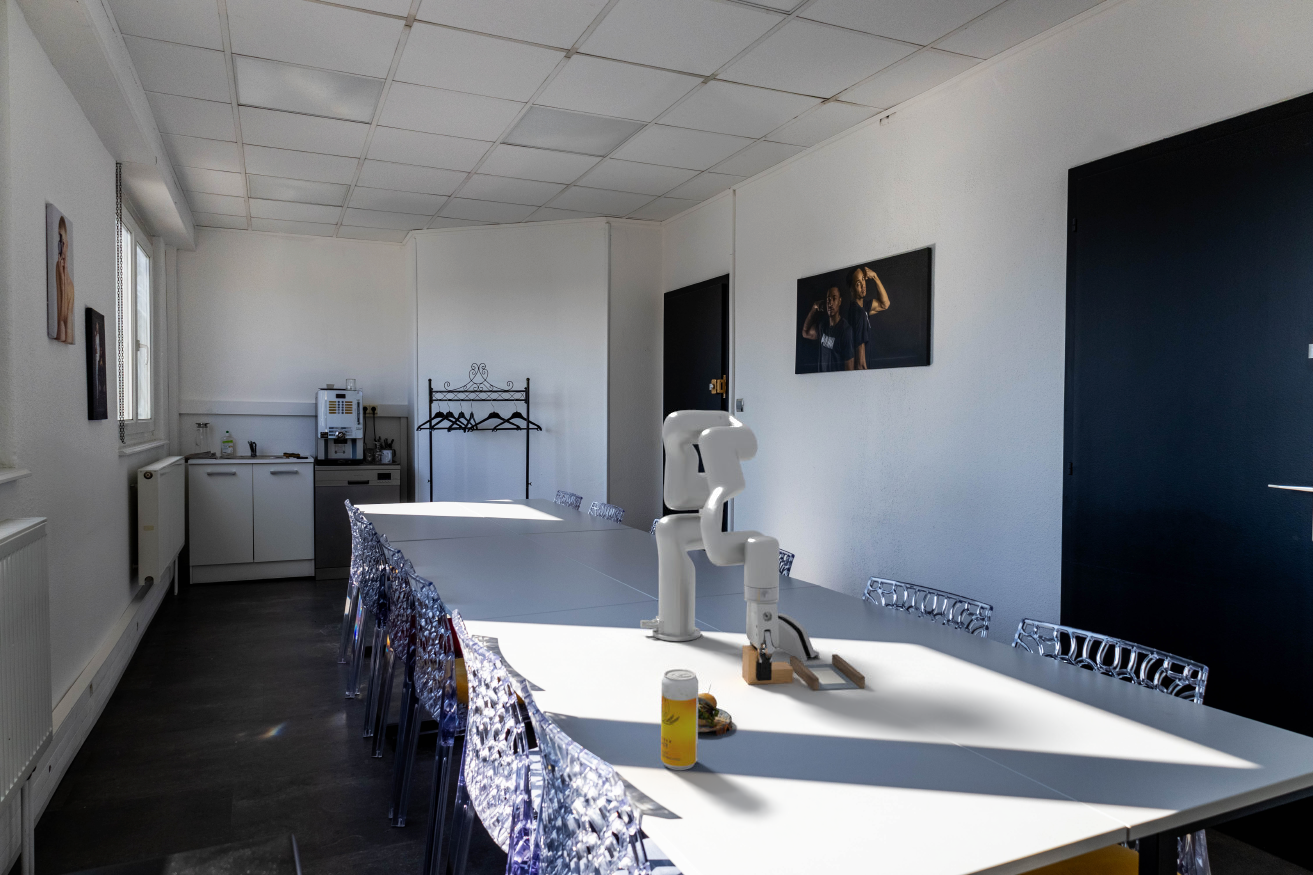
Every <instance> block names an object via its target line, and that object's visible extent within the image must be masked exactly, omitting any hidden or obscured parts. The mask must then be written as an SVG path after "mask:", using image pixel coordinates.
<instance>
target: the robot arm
mask: <svg viewBox="0 0 1313 875" xmlns="http://www.w3.org/2000/svg"><path fill="white" fill-rule="evenodd" d="M662 440H663V446H664V450H665V465H664V484H663V500H664V504H665V506H666V507H667V508H668V509H670V510H674V511H688V510H689V511H691V510H693V511H694V510H698V513H677V514H669V515H665V516H663V517H662V518H660V519H659V520H658V521H657V522H656V525H655V530H654V531H655V533H654V534H655V540H656V547H657V553H658V556H657V557H658V615H655V618H652V620H650V619H649V620H648V619H644V620H643V619H641V620H640V628H641V629H642V628H643V629H644V628H646V630H652V636H653V637H654V638H656V639H658V640H661V641H662V640H663V641H667V642H686V641H692V640H696V639H699V638H700V637H701V633H702V632H701V629H699V627H696V624H695V623H696V567H695V564H694V562H693V560H692V558H691V557H690V556H689V554H688V551H689V552H690V551H697V550H698V551H699V550H705V553H706V556H707V558H708V560H709V561H710V562H711V563H712V564H713V565H715V566H717V567H727V566H728V567H729V566H739V565H742V566H743V565H744V566H743V571H744V572H743V574H744V575H743V580H744V581H743V600H744V601H745V602H746V621H745V622H746V623H745V625H746V626H745V628H746V629H745V632H746V638H747V639H748V641H749V645H752V646H753V647H754V649H755V650H756V651H757V652H758V662H757V680H758V681H768V680H771V679H772V662H773V654H774V650H773V649H776V650H777V649H779V648H778V646H779V632H778V614H779V613H778V605H777V603H778V602H779V598H780V596H779V595H780V594H779V593H780V592H779V590H780V589H779V588H780V586H779V585H780V542H779V540H778V539H777V538H776V537H773V536H769V535H764V534H763V533H762V532H760V531H758V530H737V531H736V530H734V531H732V530H731V531H722V525H723V524H722V523H723V515H724V514H723V513H724V512H723V510H724V503H726V502H727V501H729V500H731V499H733V498H735V497H737V496H738V495H740V494H741V493H743V492H744V490H745V488H746V487H747V486H746V481H745V477H744V473H743V470H742V466H741V462H746V461H747V462H748V461H750V460H751V461H752V460H753V458H755V457H756V455H757V452H758V449H759V447H758V445H759V444H758V441H757V440H758V439H757V436H756V435H755V433H754V432H753V430H752V429H751V428H750V426H748V425H747V424H746V423H745V422H744V421H742V420H740V419H739V418H738V417H736V416H735V415H733V414H732V412H729V411H725V410H700V409H699V410H698V409H697V410H696V409H692V410H691V409H687V410H678V411H674V412H671V413H670V414H668V416H666V418H665V420H664V422H663V426H662ZM694 445H698V449H699V452H700V457H701V460H702V464H703V468H704V469H703V470H704V472H699V460H700V459H699V455H698V452H697V450H696V448H695V447H694Z"/></svg>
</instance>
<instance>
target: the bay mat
mask: <svg viewBox="0 0 1313 875" xmlns="http://www.w3.org/2000/svg"><path fill="white" fill-rule="evenodd" d="M804 665H805V666H806V667H807V668H808V669H809V670H810V671H811V672H812V673H814V674H815V675H816V676H817V677H818V678H819V690H818V691H832V690H855V689H857V690H858V689H859V687H858V686H857V685H856V684H855V683H853V682H852V681H851V680H850V679H849V678H848V677H846V676H845V675H844V674H843V673H842V672H841V671H839V670H838V669H837V668H836V667H835V666H834V665H832V663H817V664H804ZM859 690H860V689H859Z"/></svg>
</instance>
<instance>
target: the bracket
mask: <svg viewBox="0 0 1313 875" xmlns="http://www.w3.org/2000/svg"><path fill="white" fill-rule="evenodd" d="M741 656H742V659H741V660H742V663H741V664H742V665H741V666H742V670H741V672H742V674H741V675H742V676H741V677H742V678H743V680H744V681H745V682H746V684H747V685H766V684H767V685H768V684H788V683H789V684H790V683H794V671H793V668H792V667H791V666H790V663H788V662H787V661H774V662H773V661H772V679H771V680H768V681H758V680H757V662H758V652H757V651H756V650H755V649H754V647H753V646H752V645H750V644H748V645H742V655H741Z"/></svg>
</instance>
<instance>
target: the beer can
mask: <svg viewBox="0 0 1313 875" xmlns="http://www.w3.org/2000/svg"><path fill="white" fill-rule="evenodd" d="M697 677H698V676H697V674H696V672H695V671H692V670H689V669H684V668H683V669H682V668H677V669H676V668H674V669H670V670H667V671H665V672H664V675H663V677H662V678H661V702H660V703H661V706H660V707H661V709H660V710H661V711H660V713H661V714H660V715H661V719H660V721H661V722H660V726H661V727H660V733H661V734H660V759H661V761H662V763H663V765H664V766H665V767H666V768H668V769H671V770H675V771H683V770H688V769H689V770H690V769H691V768H693V767H694V766H695V763H697V761H698V759H699V758H698V753H699V752H698V750H699V748H698V746H699V744H698V743H699V739H698V738H699V735H698V734H699V732H698V694H699V680H698V678H697Z"/></svg>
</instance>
